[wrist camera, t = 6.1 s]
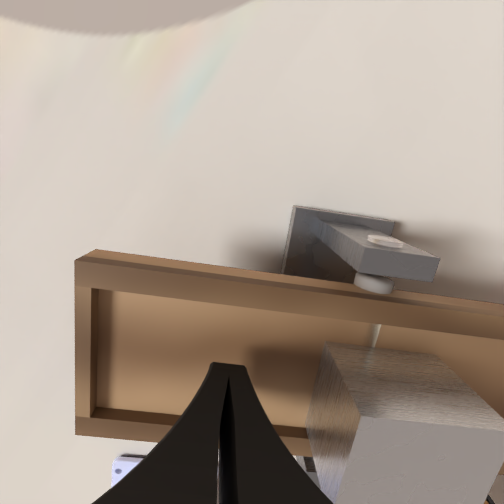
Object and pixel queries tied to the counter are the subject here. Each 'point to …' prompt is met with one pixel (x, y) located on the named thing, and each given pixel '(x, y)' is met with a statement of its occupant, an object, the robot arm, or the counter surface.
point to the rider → (400, 429)
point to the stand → (348, 257)
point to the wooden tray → (250, 339)
